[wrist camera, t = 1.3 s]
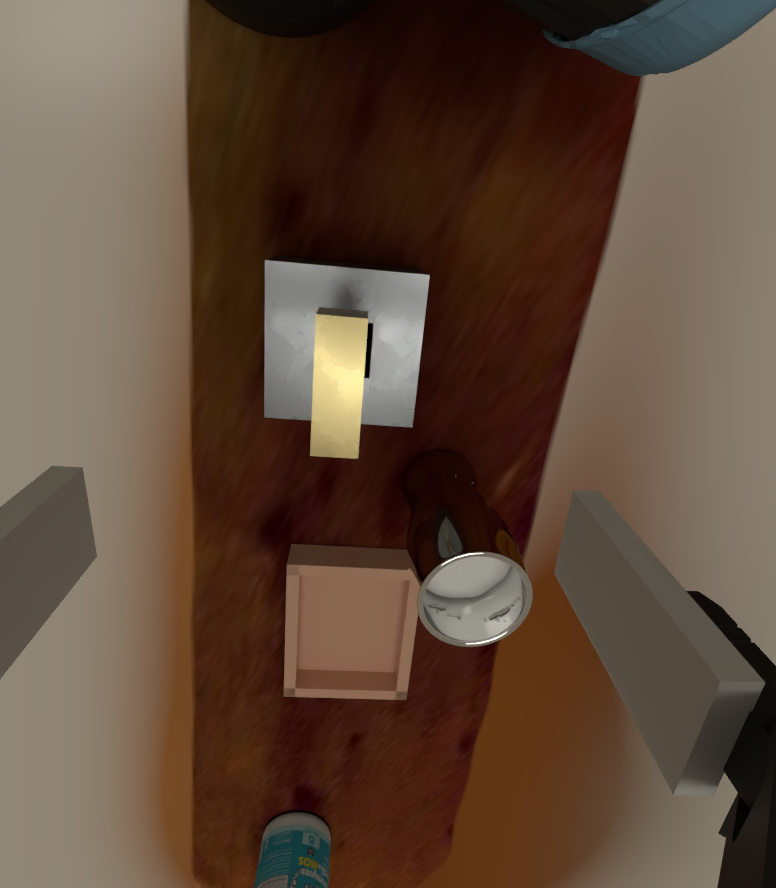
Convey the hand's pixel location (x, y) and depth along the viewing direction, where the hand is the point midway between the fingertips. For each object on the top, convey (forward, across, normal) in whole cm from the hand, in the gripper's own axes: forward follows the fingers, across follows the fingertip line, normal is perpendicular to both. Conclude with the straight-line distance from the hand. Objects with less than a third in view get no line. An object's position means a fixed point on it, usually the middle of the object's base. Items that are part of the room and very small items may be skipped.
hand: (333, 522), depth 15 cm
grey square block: (+26, 0, 0) cm, 26 cm away
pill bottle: (+26, -3, -55) cm, 61 cm away
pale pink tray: (+26, +1, -25) cm, 36 cm away
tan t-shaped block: (+26, 0, 0) cm, 26 cm away
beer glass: (+26, +8, -12) cm, 30 cm away
